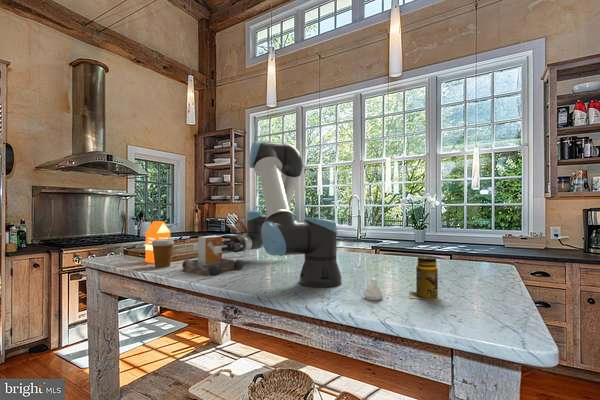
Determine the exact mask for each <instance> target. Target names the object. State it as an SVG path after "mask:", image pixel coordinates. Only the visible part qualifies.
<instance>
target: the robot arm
mask: <svg viewBox="0 0 600 400" xmlns="http://www.w3.org/2000/svg"><path fill="white" fill-rule="evenodd" d="M248 161H249V162H248V165H249V168H251V169H253V170H254V172H255V174H256V175H258V176H259V180H260V184H261V189H262V195H263V201H264V204H265V205H264V206H265V209H266V210H265V211H266V214H263V213H262V211H260V210H249V211H247V212H246V234H245V235H238V236H232V237H230V240H222V246H216V247H214V253H221V252H222V253H227V252H233V253H240V252H243V253H246V252H247V251H252V250H253V251H254V250H258V249H264V251H265V252H266V253H267V254H268V255H269V256H279V257H283V256H293V255H295V256H296V255H304V261H303V264H302V268H301V270H300V273H299V283H300V284H302V285H303V286H306V287H314V288H315V287H316V288H330V287H335V286H340V285H341V284H342V274H341V271H340V267H339V265H338V261H337V260H338V259H337V251H338V250H337V243H338V242H337V237H338V236H337V235H338V232H337V229H338V228H337V223H336V222H335V221H334V220H331V219H323V218H315V217H308V216H306V217H304V219H303V220H299V221H298V219H297V216H296V214H295V213H294V212H292V211H291V208H290V207H291V203H292V200H293V196H294V192H295V189H296V184H297V180H298V178H299V177H301V175H302V171H303V159H302V156H301V153H300V152H299V150H298V149H297V148H296V146H294V145H292V144H291V143H288V142H274V141H264V140H255V141H253V142H252V144H251V146H250V151H249V159H248ZM192 246H193V247H192V248H193V249H192V251H193V252H195V251H198V243H193V244H192Z"/></svg>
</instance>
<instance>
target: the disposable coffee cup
mask: <svg viewBox="0 0 600 400" xmlns="http://www.w3.org/2000/svg"><path fill="white" fill-rule="evenodd" d="M151 244H152V246H153V254H154V262H155V263H154V267H155V268H157V269H164V268H169V267H170V266H171V261H172V256H173V255H172V254H173V247H174V244H175V242H174V239H172V238H170V239H159V240H153V241H152V243H151Z"/></svg>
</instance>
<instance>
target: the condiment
mask: <svg viewBox="0 0 600 400" xmlns="http://www.w3.org/2000/svg"><path fill="white" fill-rule="evenodd" d="M415 269H416V270H415V271H416V274H415V275H416V278H415V279H416V284H415V285H416V287H415V288H416V289H415V290H416V291H413V290H411V291H410V290H408V295H409V296H408V297H409V299H415V300H416V299H418V300H423V301H424V300H426V301H436V302H437V301H438V302H440V301H441V299H440V297H439V290H438V289H439V282H438V280H439V279H438V278H439V277H438V274H439V273H438V267H437V258H436V257H432V256H418V257H417V265H416V267H415Z"/></svg>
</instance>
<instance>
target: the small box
mask: <svg viewBox="0 0 600 400" xmlns="http://www.w3.org/2000/svg"><path fill="white" fill-rule="evenodd" d="M197 239H198V240H197V241H198V242H197V244H198V250H197V260H198V263H202V264H213V263H218V262H222V259H223V252H221V253H214V247H216V246H222V241H223V236H222V235H215V234H214V235H205V236H202V235H201V236H198V238H197Z"/></svg>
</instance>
